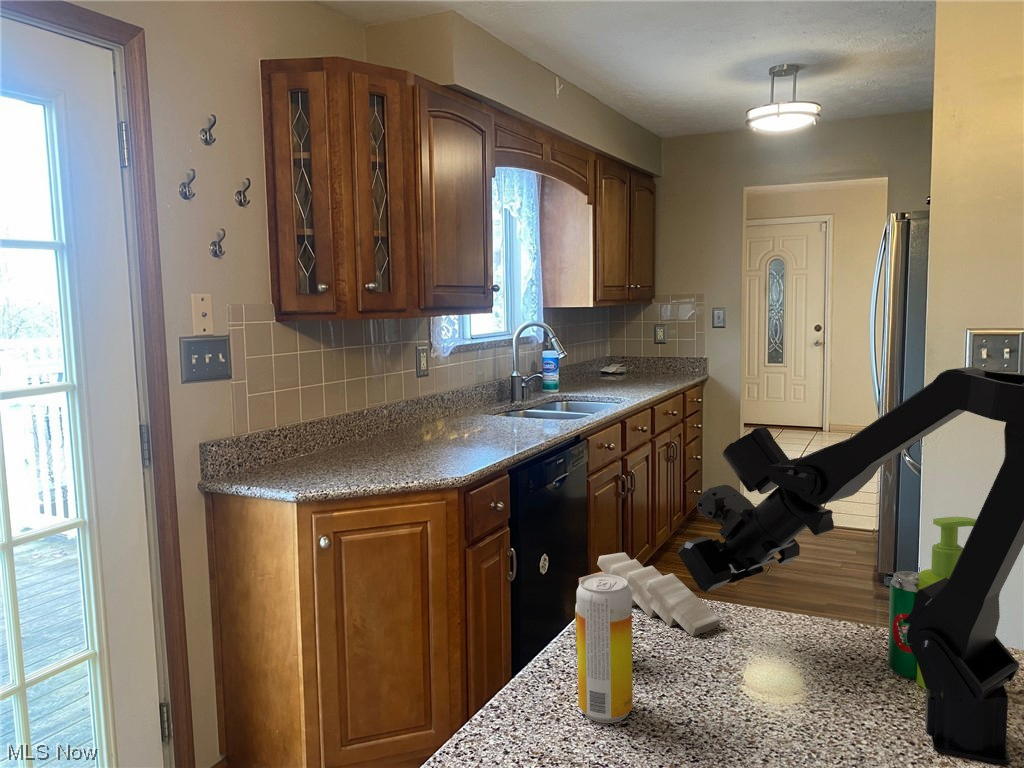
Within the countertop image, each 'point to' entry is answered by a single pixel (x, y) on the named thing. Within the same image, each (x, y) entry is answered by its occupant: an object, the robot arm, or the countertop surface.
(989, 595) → the robot arm
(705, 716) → the countertop surface
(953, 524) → the soap dispenser
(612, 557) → the domino
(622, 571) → the domino
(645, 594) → the domino
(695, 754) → the countertop surface
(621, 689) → the beer can
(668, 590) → the domino
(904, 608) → the soda can
